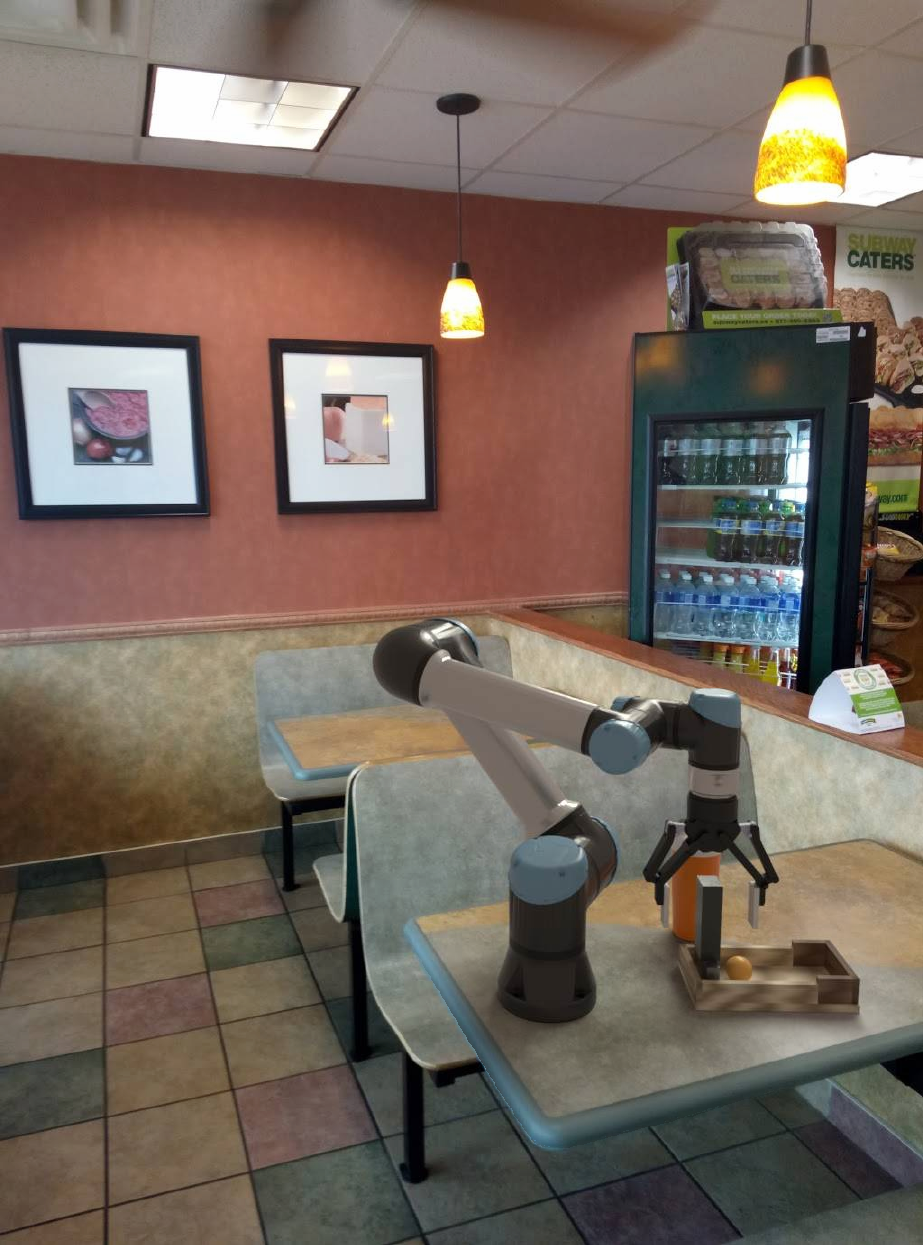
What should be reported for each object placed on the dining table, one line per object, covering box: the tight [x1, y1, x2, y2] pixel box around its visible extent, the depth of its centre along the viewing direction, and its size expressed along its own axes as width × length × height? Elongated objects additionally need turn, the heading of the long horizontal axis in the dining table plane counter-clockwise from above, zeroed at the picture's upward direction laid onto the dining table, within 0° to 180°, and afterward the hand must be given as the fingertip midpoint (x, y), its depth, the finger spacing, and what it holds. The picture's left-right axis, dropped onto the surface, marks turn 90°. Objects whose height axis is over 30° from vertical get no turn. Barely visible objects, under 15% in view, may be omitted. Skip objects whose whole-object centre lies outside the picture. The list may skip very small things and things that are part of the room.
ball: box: [726, 956, 753, 980], centre depth 140 cm, size 4×4×4 cm
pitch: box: [677, 939, 861, 1014], centre depth 140 cm, size 24×13×5 cm, turn 88°
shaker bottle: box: [670, 817, 722, 943], centre depth 157 cm, size 9×9×20 cm
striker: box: [694, 876, 724, 980], centre depth 139 cm, size 3×8×16 cm, turn 178°
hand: (708, 924), depth 139 cm, fingers open, 13 cm apart
